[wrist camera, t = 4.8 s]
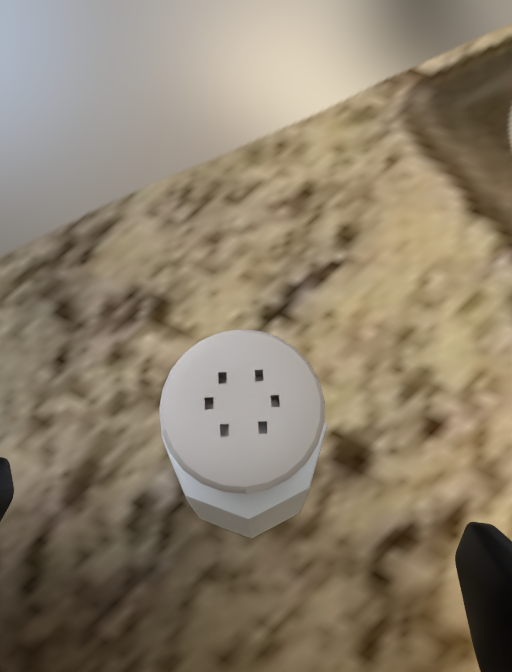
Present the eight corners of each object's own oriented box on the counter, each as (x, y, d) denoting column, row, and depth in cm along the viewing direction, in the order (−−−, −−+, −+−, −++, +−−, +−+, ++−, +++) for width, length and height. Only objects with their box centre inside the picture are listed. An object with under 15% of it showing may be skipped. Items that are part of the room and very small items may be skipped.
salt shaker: (307, 395, 18) (377, 254, 8) (321, 533, 16) (440, 578, 6) (181, 402, 18) (90, 266, 8) (179, 543, 16) (55, 605, 6)
